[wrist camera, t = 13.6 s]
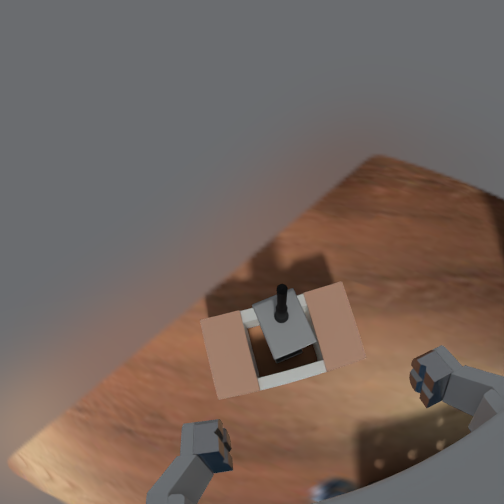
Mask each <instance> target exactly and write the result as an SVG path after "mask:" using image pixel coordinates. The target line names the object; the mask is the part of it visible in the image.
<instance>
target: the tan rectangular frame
mask: <svg viewBox="0 0 504 504" xmlns="http://www.w3.org/2000/svg"><path fill="white" fill-rule="evenodd" d="M297 298H298V300H299V302H300V304H301V306H302V309H303V311H304V313H305V315H306V318H307V320H308V322H309V324H310V326H311V329H312V331H313V333H314V335H315V338H316V340H317V341H316V342H315V343H313V346H314V350H315V353H316V357H317V360H318V361H317V362H314V363H311V364H307V365H304V366H301V367H297V368H294V369H290V370H287V371H283V372H279V373H275V374H272V375H268V376H264V377H260V376H259V372H258V368H257V364H256V360H255V357H254V353H253V349H252V345H251V341H250V337H249V333H248V328H252V327H255V326H259V325H260V324H259V321H258V319H257V316H256V314H255V312H254V309H253V308H250V309H246V310H243V311H240V310H238V311H234V312H230V313H226V314H222V315H218V316H214V317H210V318H206V319H202V320H200V323H201V328H202V333H203V337H204V342H205V346H206V351H207V355H208V360H209V364H210V368H211V372H212V377H213V381H214V385H215V389H216V393H217V397H218V400H219V399H224V398H229V397H234V396H239V395H244V394H248V393H252V392H257V391H260V390H264V389H268V388H272V387H276V386H279V385H283V384H287V383H291V382H294V381H298V380H301V379H304V378H308V377H311V376H314V375H318V374H321V373H324V372H328V371H331V370H334V369H337V368H340V367H343V366H346V365H349V364H351V363H354V362H357V361H360V360H362V359H365V358H367V357H366V354H365V351H364V347H363V344H362V341H361V338H360V334H359V331H358V328H357V325H356V322H355V319H354V316H353V313H352V310H351V307H350V304H349V301H348V298H347V295H346V292H345V289H344V286H343V283H342V281H341V282H338V283H334V284H331V285H328V286H324V287H321V288H318V289H314V290H311V291H308V292H304V293H303V294H301V295H298V296H297Z"/></svg>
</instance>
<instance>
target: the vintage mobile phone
mask: <svg viewBox="0 0 504 504" xmlns="http://www.w3.org/2000/svg"><path fill="white" fill-rule="evenodd" d="M252 307H253V309H254V312H255V314H256V316H257V319H258V321H259V324H260V326H261V329H262V331H263V334H264V336H265V338H266V341H267V343H268V346H269V348H270V351H271V353H272V355H273V358H274V359H275V362H276V363H279V362H282V361H284V360H287V359H289V358H291V357H294V356H296V355H298V354H301V353H303V351H302V348H304V347H306V346H308V345H311V344H313V343H315V342H316V341H317V340H316V338H315V335H314V333H313V331H312V329H311V326H310V324H309V322H308V320H307V318H306V315H305V313H304V311H303V309H302V306H301V304H300V302H299V300H298V298H297V295H296V293H295V291H294V289H293V288H291V289H289V290H288V288H287V286H286V285H284V284H280V285H278V287H277V295H275V296H272V297H270V298H267V299H265V300H262V301H260V302H257V303H255V304H253V305H252Z"/></svg>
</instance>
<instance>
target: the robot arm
mask: <svg viewBox="0 0 504 504" xmlns="http://www.w3.org/2000/svg"><path fill="white" fill-rule="evenodd" d="M411 366H412V367H413V369H412V370H411V372H410V377H409V378H410V383H411V385H412V388H413V389H414V391H416V392H418V393H420V399H421V401H422V402H423V404H424V405H425V407H426V408H428V407H430V406H432V405H434V404H436V403H438V402H440V401H442V400H443V402H445V403H447V404H449V405H451V406H453V407H455V408H457V409H459V410H461V411H463V412H465V413H467V414H470V415H472V416H473V418H472V420H471V422H470V424H469V426H468V428H469V429H470V431H471V433H469V434H468V435H466V436H465V437H463V438H462V439H460V440H459V441H457V442H455V443H454V444H452V445H450V446H449V447H447V448H445V449H444V450H442V451H440V452H438V453H437V454H435V455H433V456H431V457H429V458H428V459H426V460H424V461H422V462H420V463H418V464H416V465H414V466H412V467H410V468H408V469H406V470H404V471H401V472H399V473H397V474H395V475H393V476H390V477H388V478H386V479H383V480H381V481H378V482H376V483H373V484H371V485H368V486H366V487H363V488H360V489H357V490H355V491H352V492H349V493H346V494H343V495H340V496H337V497H333V498H330V499H327V500H323V501H319V502H316V503H312V504H504V377H503V376H500V375H496V374H493V373H489V372H486V371H482V370H479V369H476V368H472V367H469V366H466V365H465V366H462V365H461V364H460V363H459V362H458V361H457V360H456V359H455V358H454V356H453V355H452V354H451V353H450V352H449V351H448V350H447V349H446V348H445V347H444V346H442V345H441V346H439V347H437V348H435V349H433V350H430V351H429V352H427V353H425V354H423V355H420V356H418V357H416V358H414V359H413V360H412V364H411ZM231 449H232V448H231V441H230V436H229V434H228V432H227V430H226V429H225V428H223V423H222V421H221V420H220V419H217V420H210V421H202V422H194V423H186V424H183V426H182V435H181V450H180V456H177V457H176V458H175V459H174V461H173V462H172V463H171V464H170V466H169V467H168V468H167V469H166V471H165V472H164V473H163V474H162V476H161V477H160V478H159V479H158V481H157V482H156V483H155V484H154V485H153V487H152V488H151V489H150V490H149V491H148V493H147V499H146V504H197V503H198V501H199V499H200V497H201V496H202V494H203V492H204V491H205V489H206V487H207V485H208V484H209V482H210V480H211V478H212V477H213V475H214V474H213V473H220V472H226V471H232V470H233V461H232V456H231V455H230V453H229V452H230V450H231Z"/></svg>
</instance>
